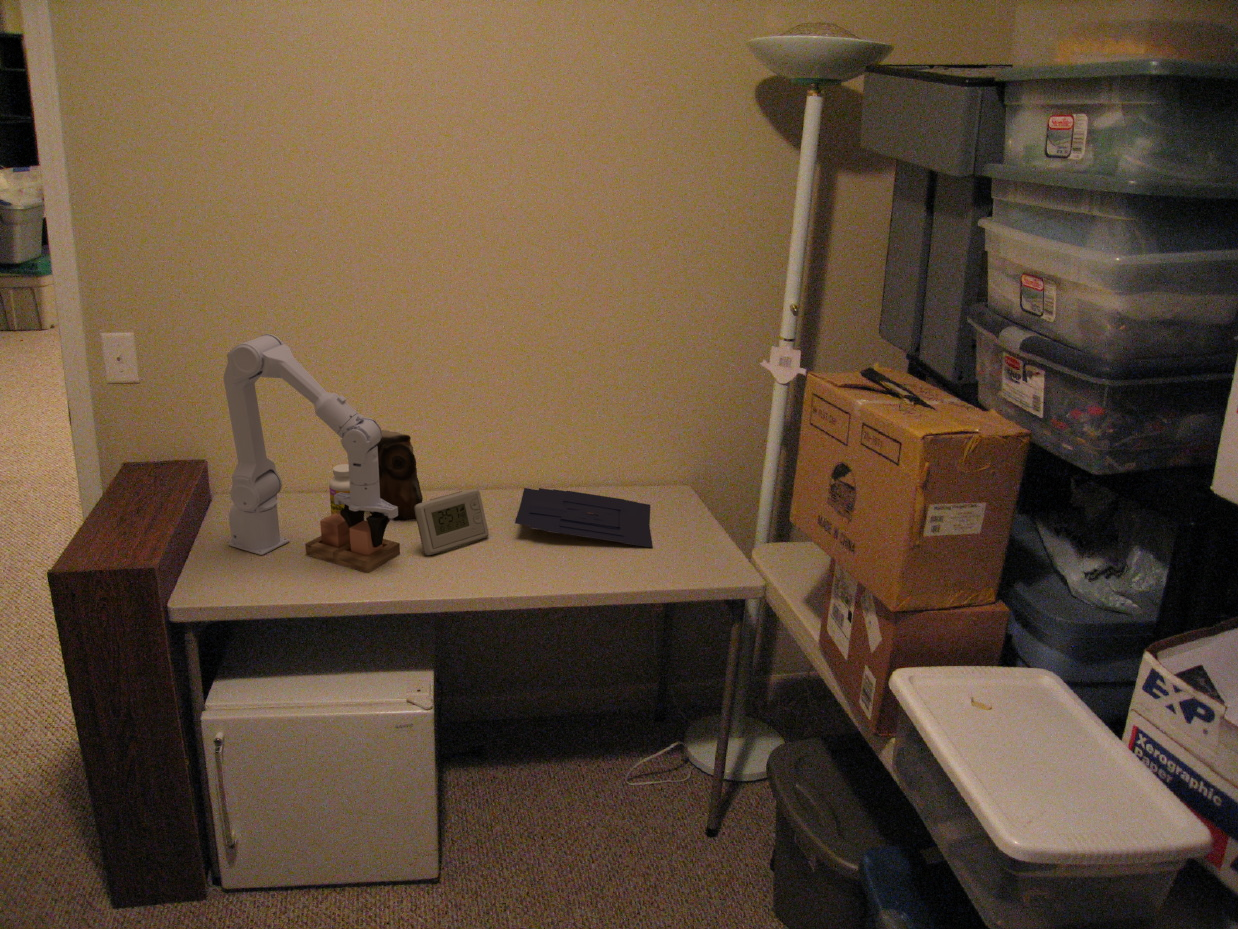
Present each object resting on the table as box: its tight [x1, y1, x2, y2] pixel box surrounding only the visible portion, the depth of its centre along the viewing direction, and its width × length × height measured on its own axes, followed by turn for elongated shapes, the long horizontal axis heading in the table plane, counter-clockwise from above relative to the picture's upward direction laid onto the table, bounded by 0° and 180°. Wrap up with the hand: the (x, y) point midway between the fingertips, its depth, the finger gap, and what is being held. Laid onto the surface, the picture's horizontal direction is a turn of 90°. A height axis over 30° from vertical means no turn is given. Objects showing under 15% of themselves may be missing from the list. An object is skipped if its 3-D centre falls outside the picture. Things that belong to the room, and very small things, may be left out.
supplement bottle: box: [328, 463, 350, 516], centre depth 210 cm, size 7×7×13 cm
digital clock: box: [414, 488, 489, 556], centre depth 203 cm, size 16×9×11 cm, turn 122°
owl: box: [367, 429, 424, 522], centre depth 214 cm, size 13×13×20 cm
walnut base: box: [304, 513, 401, 574], centre depth 196 cm, size 16×10×7 cm, turn 64°
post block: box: [349, 519, 383, 556], centre depth 194 cm, size 4×4×6 cm
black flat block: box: [514, 487, 654, 548], centre depth 216 cm, size 24×30×4 cm
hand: (367, 542), depth 194 cm, fingers closed on post block, 4 cm apart
